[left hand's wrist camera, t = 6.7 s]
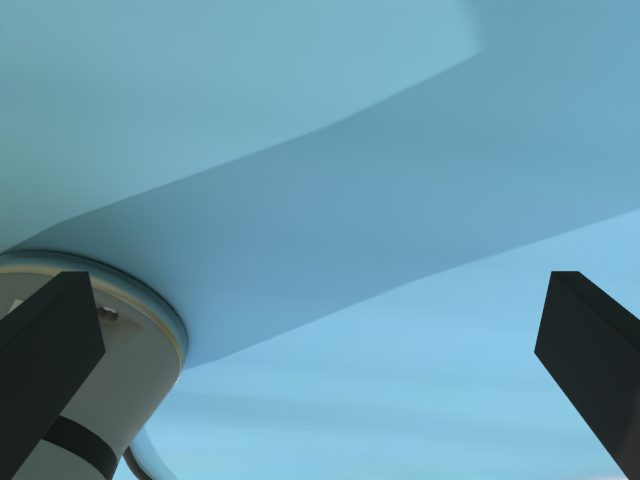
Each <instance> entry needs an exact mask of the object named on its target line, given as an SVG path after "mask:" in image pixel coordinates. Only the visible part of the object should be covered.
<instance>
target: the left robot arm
mask: <svg viewBox="0 0 640 480" xmlns="http://www.w3.org/2000/svg"><path fill="white" fill-rule="evenodd" d="M187 352H188V339H187V335H186V332H185V329H184V327H183V325H182V323H181V321H180V320H179V318H178V317H177V315H176V314H175V313H174V311H173V310H172V309H171V308H170V307H169V306H168V305H167V304H166V303H165V302H164V301H163V300H162V299H161V298H160V297H159V296H158V295H156V294H155V293H154V292H152V291H151V290H150V289H148V288H147V287H145V286H144V285H143V284H141V283H139V282H138V281H136V280H134V279H133V278H131V277H129V276H127V275H125V274H123V273H121V272H119V271H117V270H115V269H113V268H110V267H108V266H105V265H103V264H100V263H97V262H94V261H91V260H88V259H84V258H81V257H77V256H72V255H67V254H62V253H55V252H46V251H23V252H15V253H9V254H5V255H1V256H0V480H112V478H113V476H114V473H115V471H116V468H117V466H118V463H119V461H120V458H121V456H122V455H123V457H124V459H125V461H126V463H127V465H128V467H129V468H130V470H131V471H132V473H133V474H134V475H135V476H136V477H137V478H138V479H139V480H152V479H151V478H150V477H149V476H148V475H147V474H146V473H145V472H144V471H143V470H142V469H141V468H140V467H139V465H138V464H137V462H136V461H135V459H134V457H133V455H132V453H131V451H130V448H129V444H130V443H131V442H132V440H133V439H134V438H135V436H136V435H137V434H138V432H139V431H140V430H141V429H142V427H143V426H144V425H145V423H146V422H147V421H148V419H149V418H150V417H151V415H152V414H153V413H154V411H155V410H156V409H157V407H158V406H159V405H160V403H161V402H162V401H163V399H164V398H165V396H166V395H167V394H168V393H169V392H170V390H171V389H172V388H173V387H174V386H175V384H176V383H177V381H178V379H179V377H180V374H181V371H182V368H183V365H184V362H185V359H186V356H187ZM534 353H535V354H536V356H537V357H538V358H539V360H540V361H541V362H542V364H543V365H544V367H545V368H546V369H547V371H548V372H549V373H550V375H551V376H552V377H553V379H554V380H555V381H556V383H557V384H558V385H559V387H560V388H561V389H562V391H563V392H564V393H565V395H566V396H567V397H568V399H569V400H570V401H571V403H572V404H573V405H574V407H575V408H576V409H577V411H578V412H579V414H580V415H581V416H582V418H583V419H584V420H585V422H586V423H587V424H588V426H589V427H590V428H591V430H592V431H593V432H594V434H595V435H596V436H597V438H598V439H599V440H600V442H601V443H602V444H603V446H604V447H605V448H606V450H607V451H608V452H609V454H610V455H611V457H612V458H613V459H614V461H615V462H616V463H617V465H618V466H619V467H620V469H621V470H622V471H623V473H624V474H625V475H626V477H627V478H628V479H629V480H640V320H639V319H638V318H637V317H635V316H634V315H633V314H632V313H630V312H629V311H628V310H626V309H625V308H624V307H623V306H621V305H620V304H619V303H618V302H616V301H615V300H614V299H613V298H611V297H610V296H609V295H608V294H606V293H605V292H604V291H603V290H601V289H600V288H599V287H598V286H596V285H595V284H594V283H593V282H591V281H590V280H589V279H588V278H586V277H585V276H584V275H583V274H581V273H580V272H579V271H552V272H551V276H550V281H549V286H548V290H547V295H546V299H545V304H544V309H543V313H542V318H541V323H540V327H539V332H538V336H537V341H536V346H535V350H534Z"/></svg>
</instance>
